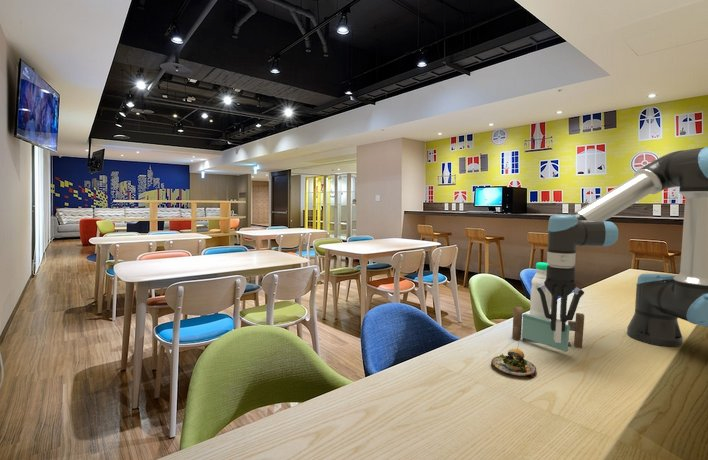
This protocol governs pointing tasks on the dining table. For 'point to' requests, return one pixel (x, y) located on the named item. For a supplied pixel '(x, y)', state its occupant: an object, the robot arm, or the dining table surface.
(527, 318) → the gate
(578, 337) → the gate frame
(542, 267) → the water bottle
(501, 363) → the burger
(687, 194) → the robot arm
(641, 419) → the dining table surface
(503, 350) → the dining table surface
